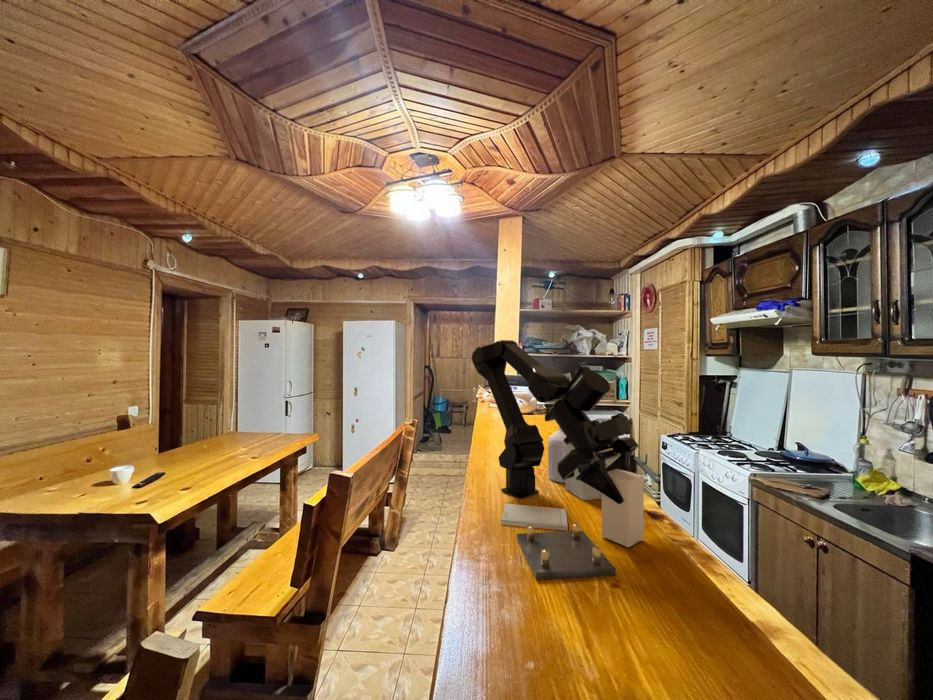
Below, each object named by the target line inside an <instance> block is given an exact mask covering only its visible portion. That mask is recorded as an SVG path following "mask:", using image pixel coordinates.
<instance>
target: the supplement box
mask: <svg viewBox="0 0 933 700" xmlns="http://www.w3.org/2000/svg"><path fill="white" fill-rule="evenodd" d="M574 449H575V448H574V447H573V445H572V444H571V443H570V444H566V455H567V454H568V453H569V452H570V451H571V450H574ZM601 455H602V454H601ZM607 467H608V465H607V464H606V468H607ZM579 475H580V473H579V472H578V468H577V469H576V470H575V471H574V477H572V478H569V479H566V483H565V490H566V491H569V492H570V493H571V494H572V495H574V496H575V497H577V498H579V499H580V500H581V501H588V500H589V501H591V500H599V499H600V500H602V493H601V492H600V491H598V490H596V489H594V488H593V487H591V486H589V485H588V484H586V483H584V482H582V481H580V480H579V481H577V480H576V477H577V476H579Z"/></svg>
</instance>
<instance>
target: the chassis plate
mask: <svg viewBox="0 0 933 700" xmlns="http://www.w3.org/2000/svg"><path fill="white" fill-rule="evenodd" d="M526 528H527V529H526V531H527V533H525V532H523V533H522V532H521V533H516V541H517V543H518V545H519V547H520V549H521V552H522V554H523V555H524V557H525V560H526V562H527V565H528V566H529V568H530V571H531V572H532V575H533V577H534V578H535V580H537V581H539V580H541V581H542V580H555V579H558V580H559V579H570V578H571V579H573V578H575V579H576V578H591V577H610V576H616V575H617V573H616V572H617V569H616V567H615V565H613V564H612V562H611V561H610V560H609V559H608V558H607V556H605V554H604V553H603V552H602V551H601V549H602V548H601V547H599V546H597V545H596V544H595V543H594V542H593V541H592V540H591V538H590V537H589V536H588V534H586V532H584V530H581V526H580V524H579V523H575V522H574V523H572V530H571V531H549V532H535V528H534V526H532V525H529V526H527V527H526Z"/></svg>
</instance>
